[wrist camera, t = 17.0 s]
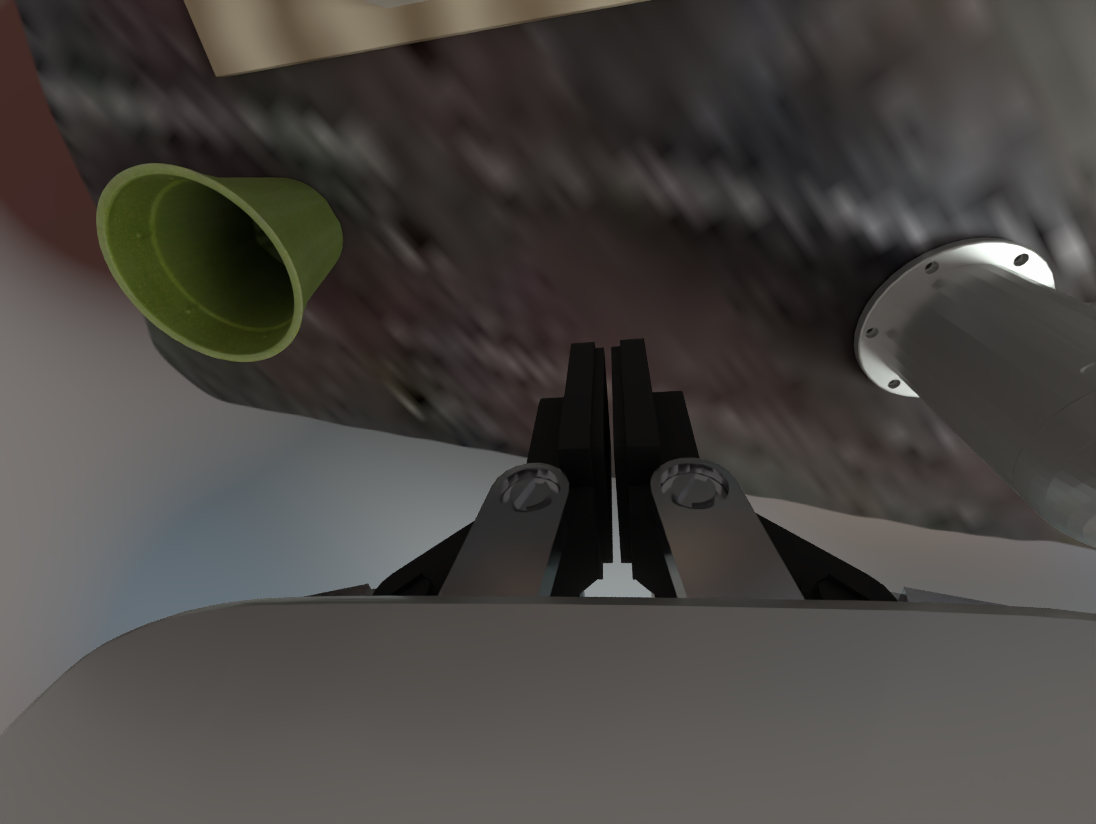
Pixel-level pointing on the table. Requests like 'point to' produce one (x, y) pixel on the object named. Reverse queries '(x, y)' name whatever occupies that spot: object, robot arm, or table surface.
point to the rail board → (350, 26)
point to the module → (393, 2)
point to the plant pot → (218, 255)
